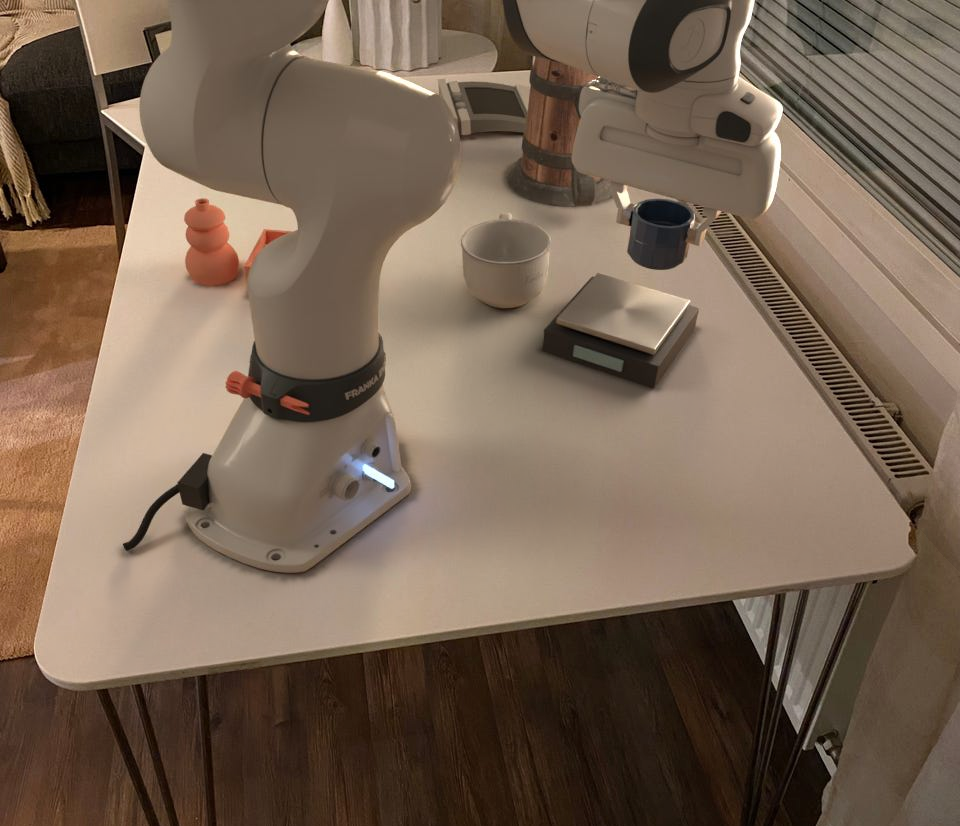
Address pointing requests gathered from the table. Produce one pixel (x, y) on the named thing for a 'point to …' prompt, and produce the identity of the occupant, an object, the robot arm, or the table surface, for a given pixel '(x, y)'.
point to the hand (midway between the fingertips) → (660, 232)
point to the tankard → (554, 140)
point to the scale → (618, 349)
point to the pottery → (216, 246)
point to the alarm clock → (486, 105)
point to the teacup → (505, 261)
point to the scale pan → (624, 313)
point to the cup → (659, 233)
